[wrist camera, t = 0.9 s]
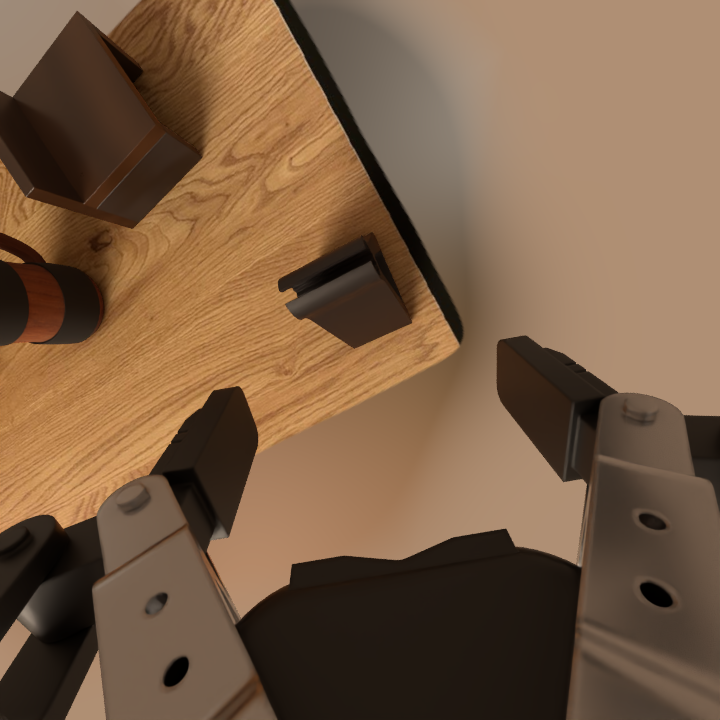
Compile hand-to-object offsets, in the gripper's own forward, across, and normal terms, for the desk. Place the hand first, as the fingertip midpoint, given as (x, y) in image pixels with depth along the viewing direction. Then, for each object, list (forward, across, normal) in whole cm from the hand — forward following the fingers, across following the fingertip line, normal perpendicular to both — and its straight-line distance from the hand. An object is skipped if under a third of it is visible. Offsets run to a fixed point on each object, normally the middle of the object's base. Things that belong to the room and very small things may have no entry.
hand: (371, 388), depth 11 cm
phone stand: (+23, -1, +3) cm, 23 cm away
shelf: (+34, +20, -14) cm, 41 cm away
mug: (+32, +32, -1) cm, 45 cm away
